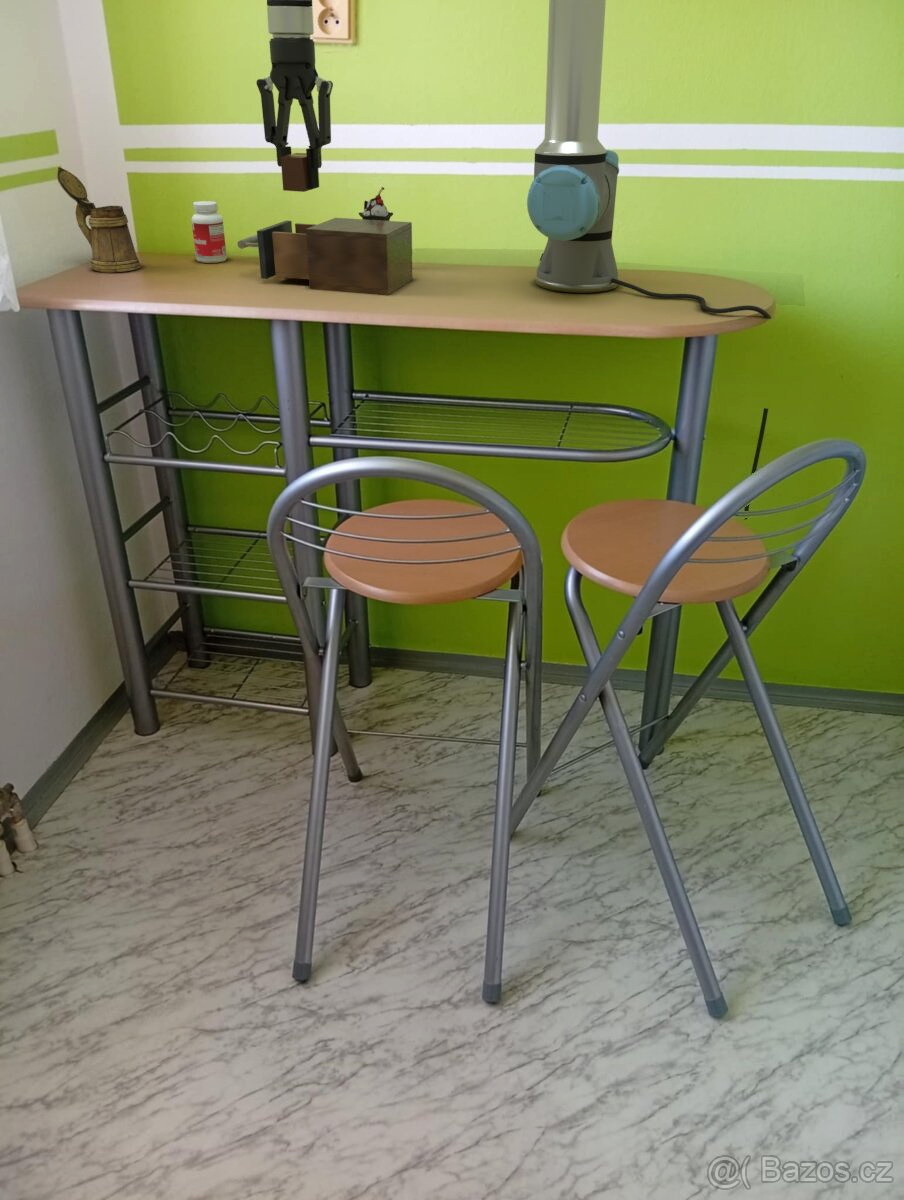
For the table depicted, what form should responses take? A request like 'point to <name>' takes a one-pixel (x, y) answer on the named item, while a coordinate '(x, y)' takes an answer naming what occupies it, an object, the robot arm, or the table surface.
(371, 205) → the sundae
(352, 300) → the table surface
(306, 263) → the drawer
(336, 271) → the cabinet
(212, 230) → the pill bottle
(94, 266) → the wooden mug
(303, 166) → the chocolate
